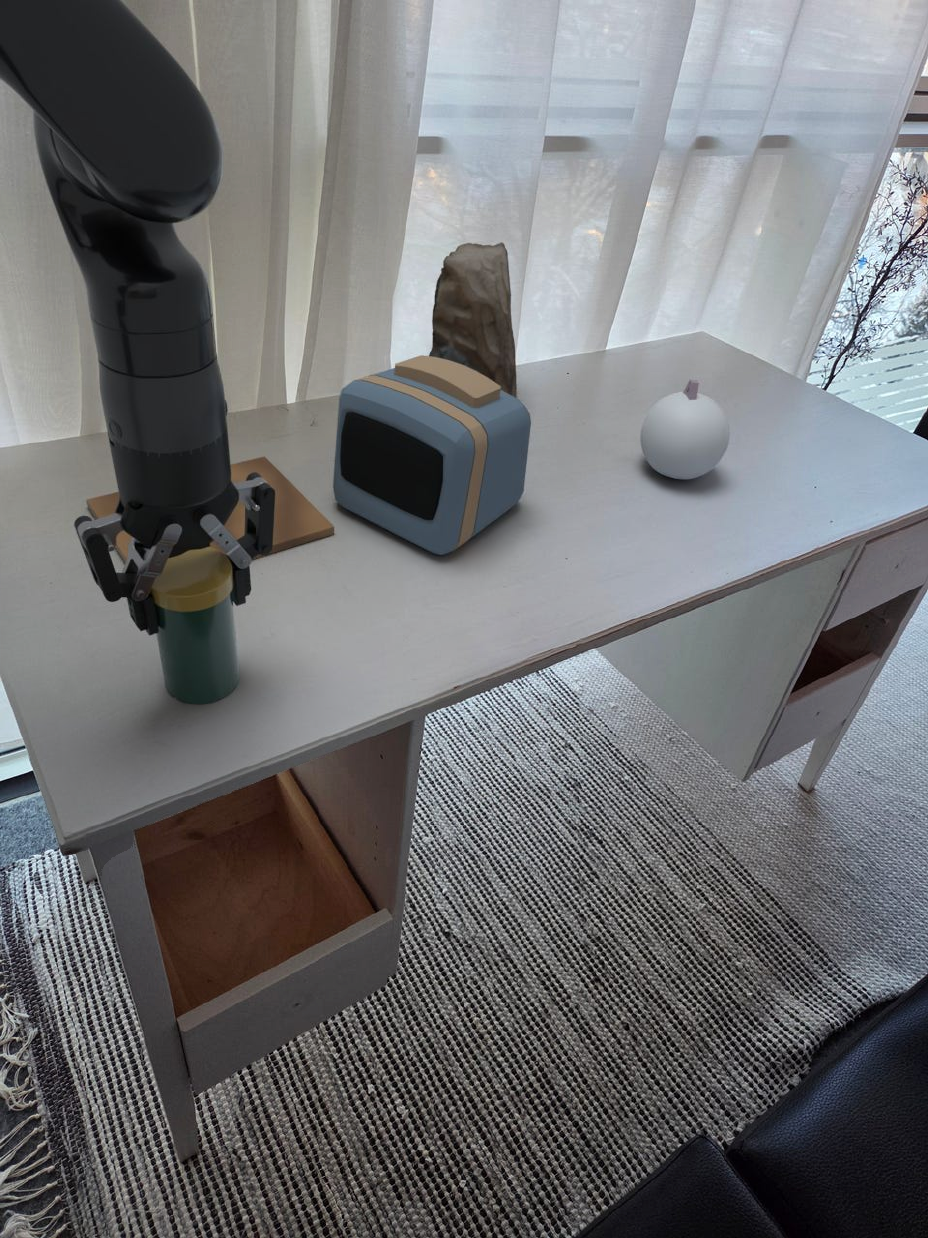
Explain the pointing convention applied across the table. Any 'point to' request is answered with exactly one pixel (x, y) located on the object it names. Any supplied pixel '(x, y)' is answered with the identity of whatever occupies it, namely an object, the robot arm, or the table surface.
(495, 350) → the jagged brown rock
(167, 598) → the jar
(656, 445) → the ornament
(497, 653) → the table surface
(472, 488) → the alarm clock
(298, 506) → the cork mat
